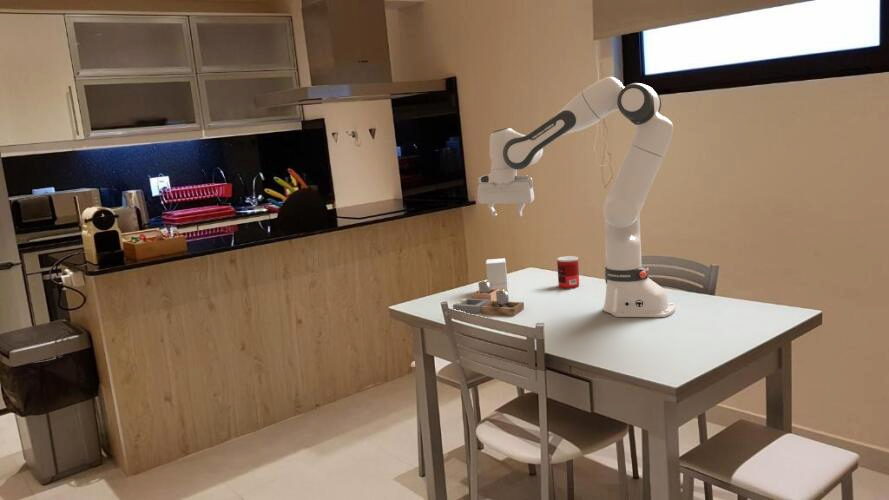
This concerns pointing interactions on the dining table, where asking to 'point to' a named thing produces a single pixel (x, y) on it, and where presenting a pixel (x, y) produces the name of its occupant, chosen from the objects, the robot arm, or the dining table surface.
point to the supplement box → (497, 273)
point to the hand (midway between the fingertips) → (507, 216)
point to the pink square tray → (486, 295)
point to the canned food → (568, 272)
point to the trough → (503, 308)
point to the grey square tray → (471, 305)
